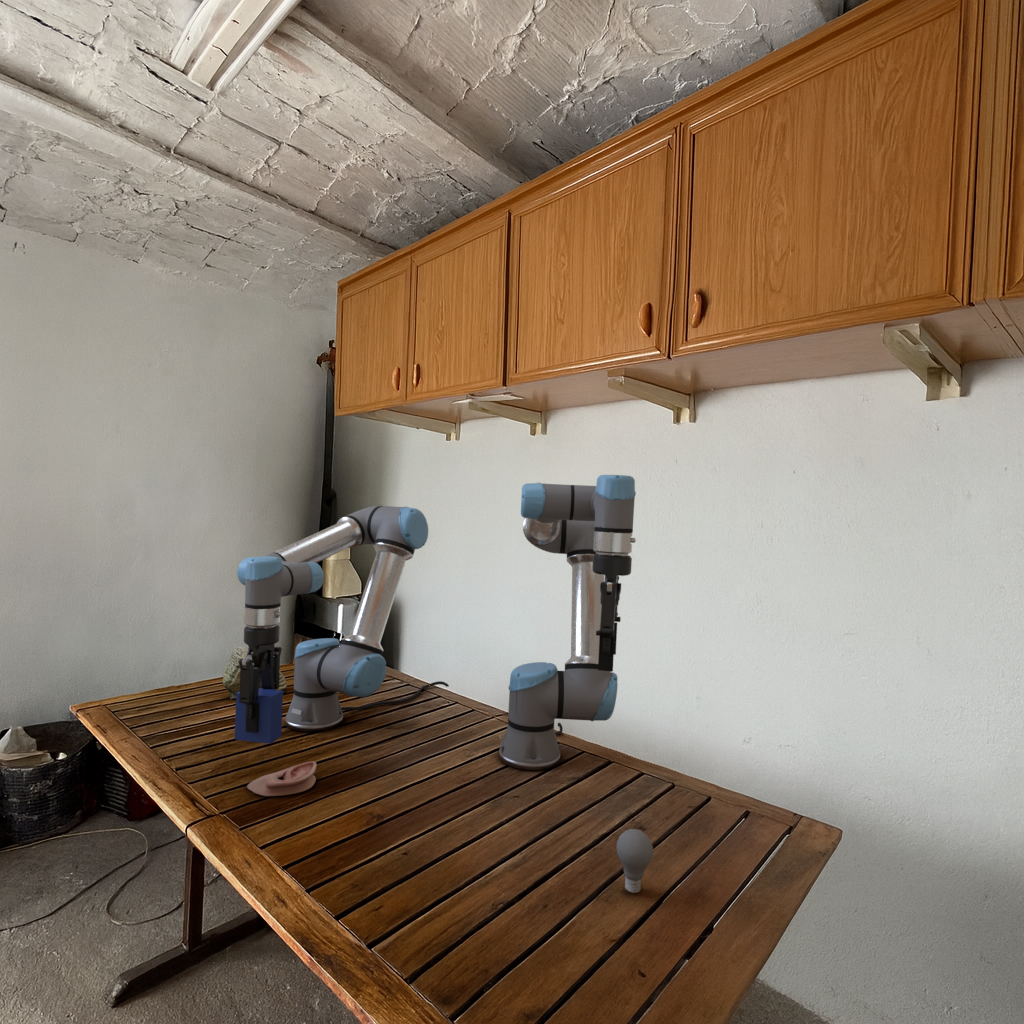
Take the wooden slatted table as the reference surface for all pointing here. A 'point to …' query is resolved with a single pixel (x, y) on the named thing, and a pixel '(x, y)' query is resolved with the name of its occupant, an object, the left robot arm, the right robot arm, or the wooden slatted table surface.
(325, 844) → the wooden slatted table surface
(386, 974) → the wooden slatted table surface
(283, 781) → the anatomical model
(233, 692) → the fossil
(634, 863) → the light bulb
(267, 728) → the brick
